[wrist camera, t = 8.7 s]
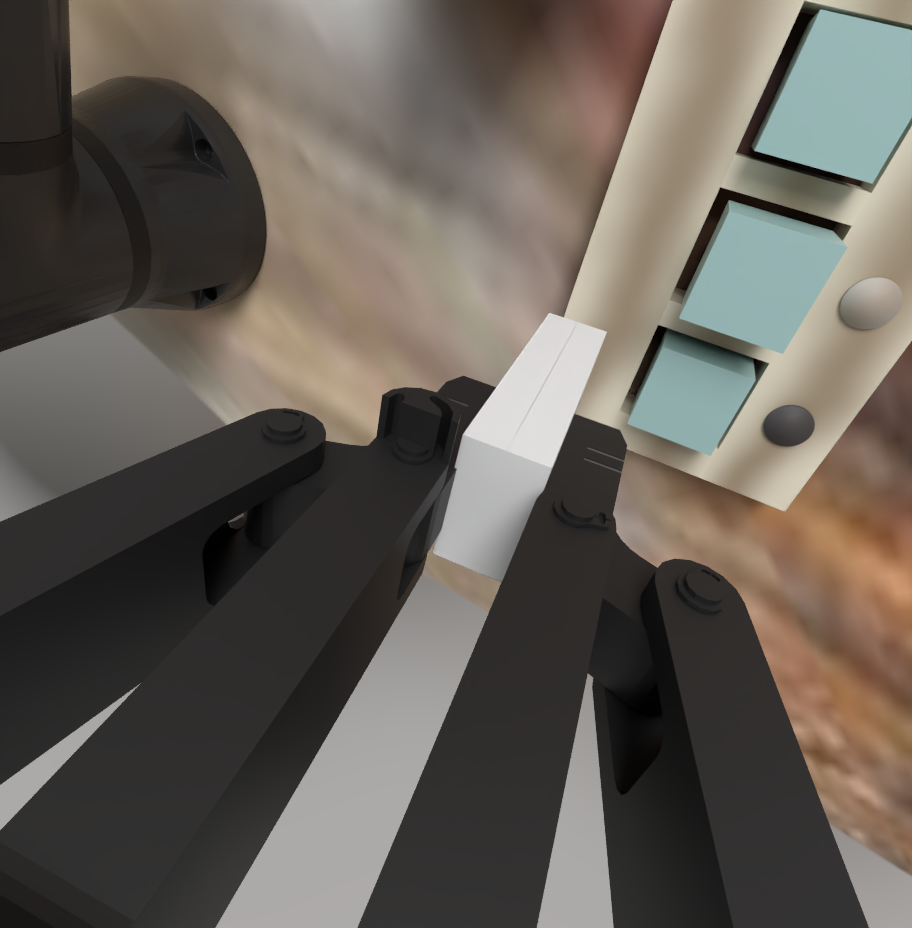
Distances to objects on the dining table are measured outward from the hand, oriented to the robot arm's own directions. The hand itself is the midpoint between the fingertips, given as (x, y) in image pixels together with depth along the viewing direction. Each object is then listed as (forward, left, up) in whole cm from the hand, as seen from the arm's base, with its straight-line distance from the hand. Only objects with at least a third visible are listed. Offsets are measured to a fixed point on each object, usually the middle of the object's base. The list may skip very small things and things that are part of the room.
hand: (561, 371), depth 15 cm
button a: (+5, -6, -20) cm, 22 cm away
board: (+5, +1, -21) cm, 22 cm away
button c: (+5, +8, -20) cm, 22 cm away
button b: (+5, +1, -18) cm, 19 cm away
